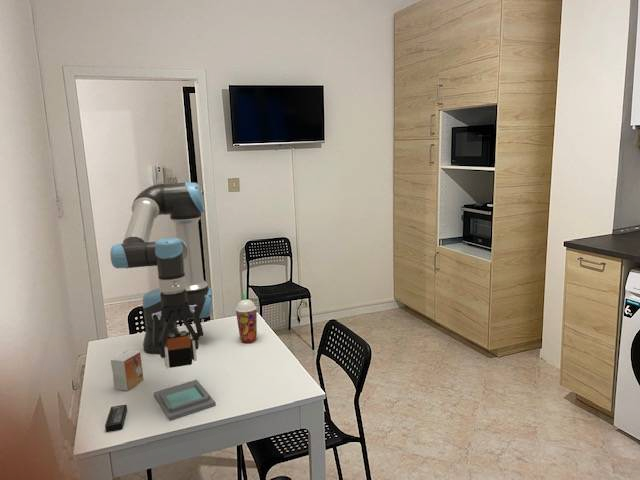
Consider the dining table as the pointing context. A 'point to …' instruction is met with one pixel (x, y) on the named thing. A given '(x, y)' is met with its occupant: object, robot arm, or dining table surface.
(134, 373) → the small box
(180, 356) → the battery
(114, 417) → the multiport hub
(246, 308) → the smoothie
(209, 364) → the dining table surface
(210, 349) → the dining table surface
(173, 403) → the dock
